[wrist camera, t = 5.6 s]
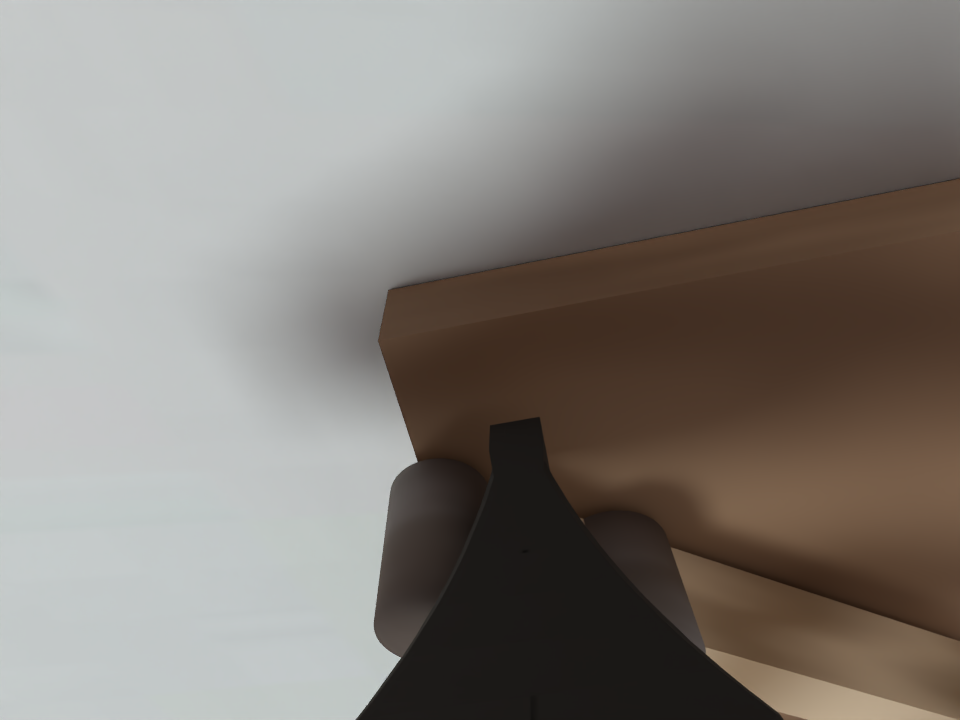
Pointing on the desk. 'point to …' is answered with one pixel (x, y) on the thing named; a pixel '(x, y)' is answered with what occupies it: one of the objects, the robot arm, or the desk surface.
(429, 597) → the lever
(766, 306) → the board
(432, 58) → the desk surface
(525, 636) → the robot arm
